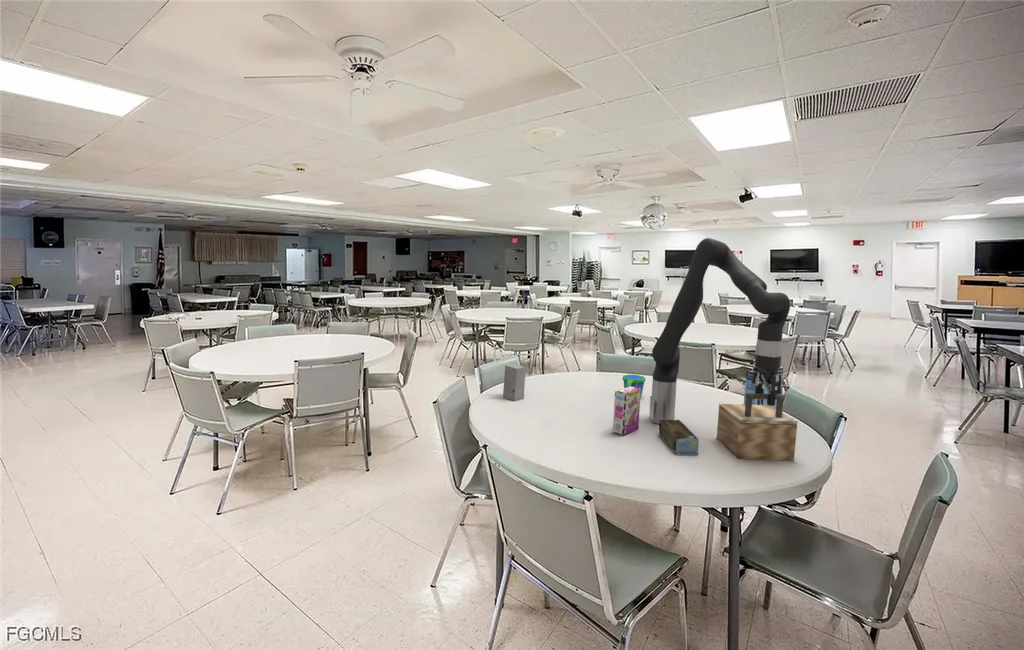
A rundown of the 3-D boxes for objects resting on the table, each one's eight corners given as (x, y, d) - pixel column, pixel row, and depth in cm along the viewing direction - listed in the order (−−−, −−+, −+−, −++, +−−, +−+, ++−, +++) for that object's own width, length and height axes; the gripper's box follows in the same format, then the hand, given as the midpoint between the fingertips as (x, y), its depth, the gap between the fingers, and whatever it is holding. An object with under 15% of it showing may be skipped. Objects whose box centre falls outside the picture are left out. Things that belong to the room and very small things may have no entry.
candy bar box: (623, 436, 171) (625, 393, 169) (612, 432, 174) (614, 390, 172) (639, 429, 179) (641, 388, 177) (628, 426, 182) (630, 385, 180)
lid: (740, 422, 150) (742, 396, 149) (718, 406, 168) (720, 382, 167) (797, 424, 149) (799, 397, 148) (769, 407, 167) (771, 383, 166)
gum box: (766, 418, 194) (771, 364, 191) (779, 421, 189) (784, 367, 187) (740, 426, 183) (745, 370, 180) (753, 430, 179) (758, 372, 176)
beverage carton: (674, 455, 154) (675, 436, 154) (657, 435, 173) (658, 418, 173) (698, 456, 154) (699, 437, 154) (678, 435, 173) (679, 418, 173)
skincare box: (502, 397, 219) (503, 365, 217) (513, 395, 224) (514, 363, 222) (514, 401, 213) (515, 368, 211) (525, 398, 218) (526, 366, 216)
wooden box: (737, 458, 152) (740, 423, 150) (716, 438, 170) (718, 407, 168) (793, 460, 151) (797, 425, 149) (766, 440, 169) (769, 408, 167)
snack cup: (636, 403, 213) (637, 381, 212) (615, 399, 220) (616, 378, 218) (649, 396, 225) (651, 375, 224) (629, 392, 232) (630, 372, 230)
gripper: (746, 349, 158) (743, 395, 160) (767, 357, 144) (763, 407, 146) (769, 350, 158) (765, 396, 160) (792, 358, 144) (787, 408, 146)
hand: (764, 401), depth 153 cm, fingers open, 8 cm apart
